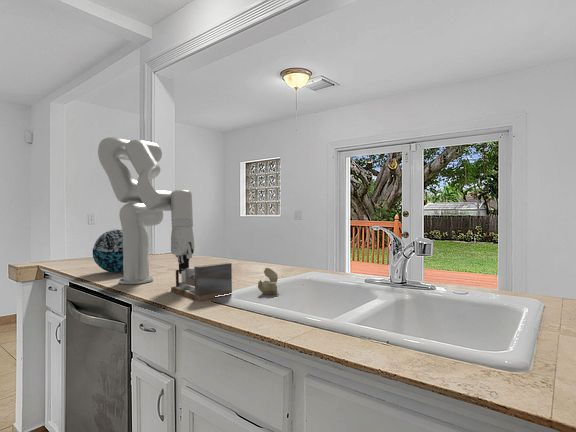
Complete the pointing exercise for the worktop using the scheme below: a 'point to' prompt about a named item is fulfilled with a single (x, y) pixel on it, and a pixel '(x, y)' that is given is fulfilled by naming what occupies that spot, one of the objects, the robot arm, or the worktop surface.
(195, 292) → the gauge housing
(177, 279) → the gauge plunger
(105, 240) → the decorative sphere
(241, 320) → the worktop surface
